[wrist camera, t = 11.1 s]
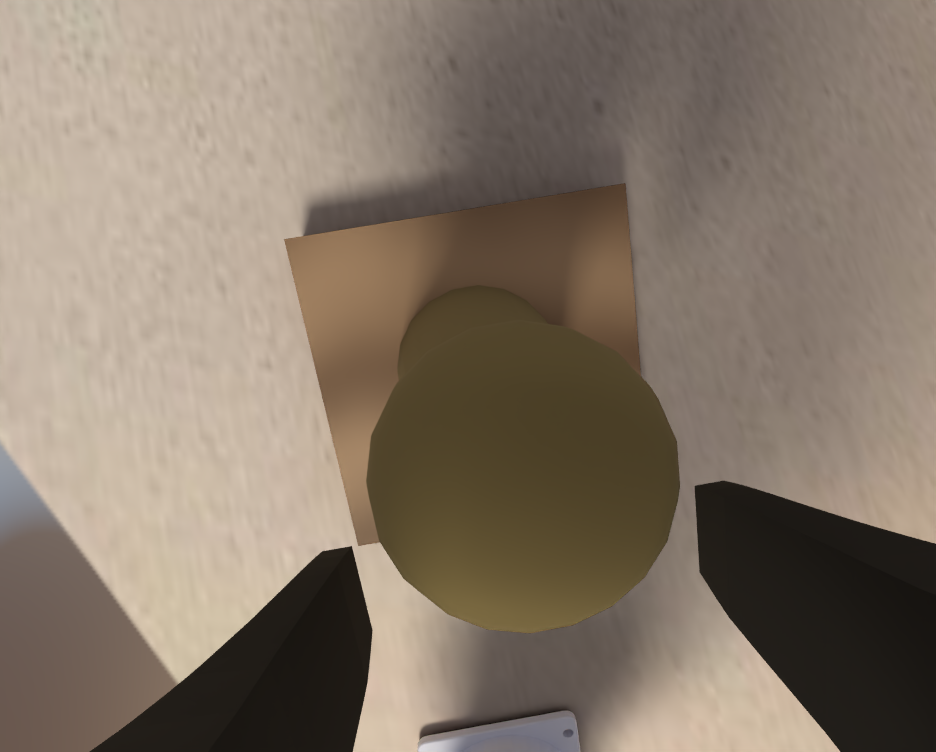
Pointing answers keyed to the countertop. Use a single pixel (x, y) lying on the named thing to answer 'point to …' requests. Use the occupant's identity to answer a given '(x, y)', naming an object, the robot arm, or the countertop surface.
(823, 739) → the countertop surface
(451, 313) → the olive tapered knobbed peg
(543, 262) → the walnut base
